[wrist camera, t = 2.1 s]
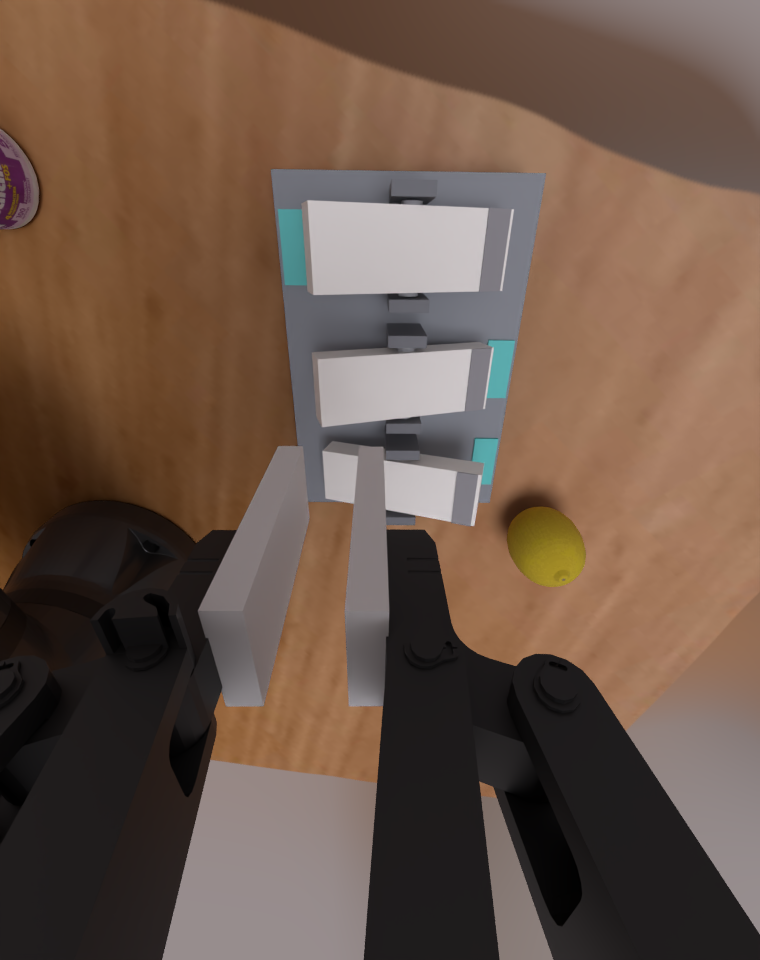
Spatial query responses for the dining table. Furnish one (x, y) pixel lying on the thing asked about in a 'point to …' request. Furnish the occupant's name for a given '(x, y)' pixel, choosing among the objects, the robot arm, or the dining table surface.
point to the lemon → (546, 546)
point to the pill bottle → (16, 185)
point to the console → (404, 315)
